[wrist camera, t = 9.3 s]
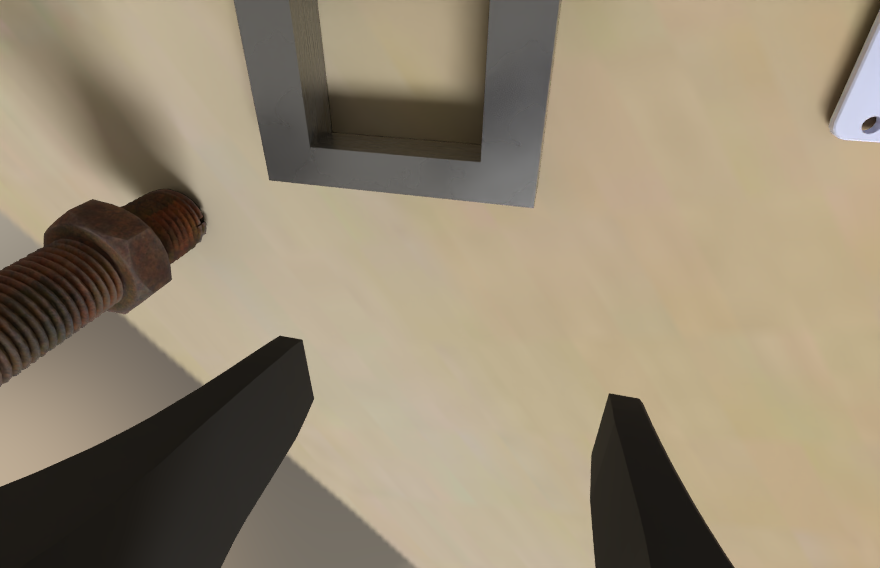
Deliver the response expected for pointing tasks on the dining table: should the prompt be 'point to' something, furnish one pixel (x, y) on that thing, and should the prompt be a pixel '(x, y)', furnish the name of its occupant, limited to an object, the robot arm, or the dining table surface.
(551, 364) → the dining table surface
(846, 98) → the robot arm
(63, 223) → the bolt
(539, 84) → the frame with rectangular openings
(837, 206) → the dining table surface
